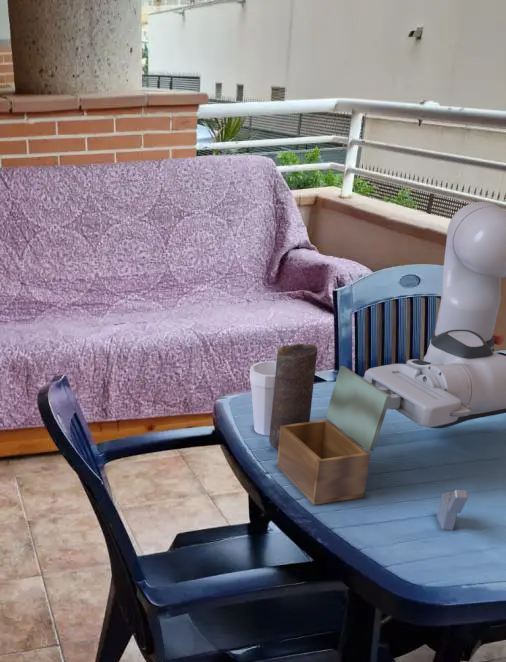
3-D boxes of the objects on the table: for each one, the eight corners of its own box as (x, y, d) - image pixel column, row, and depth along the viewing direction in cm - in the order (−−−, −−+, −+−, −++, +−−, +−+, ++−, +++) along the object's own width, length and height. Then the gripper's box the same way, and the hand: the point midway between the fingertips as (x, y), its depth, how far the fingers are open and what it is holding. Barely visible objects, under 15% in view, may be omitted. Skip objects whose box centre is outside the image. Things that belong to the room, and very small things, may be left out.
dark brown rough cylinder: (307, 456, 142) (318, 354, 131) (268, 454, 143) (276, 353, 133) (306, 440, 148) (316, 341, 138) (268, 438, 150) (276, 340, 139)
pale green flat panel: (386, 396, 118) (391, 396, 118) (340, 365, 131) (344, 366, 131) (369, 451, 123) (373, 451, 123) (325, 416, 136) (329, 417, 136)
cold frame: (314, 505, 126) (319, 461, 122) (276, 466, 139) (280, 425, 135) (363, 497, 127) (370, 454, 123) (322, 459, 141) (327, 419, 136)
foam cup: (295, 422, 156) (301, 362, 149) (290, 440, 148) (296, 378, 142) (250, 419, 159) (253, 359, 152) (242, 436, 151) (246, 374, 144)
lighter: (436, 516, 121) (446, 472, 117) (447, 516, 121) (457, 472, 116) (446, 539, 115) (456, 493, 111) (458, 539, 115) (469, 494, 111)
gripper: (473, 430, 122) (397, 441, 119) (404, 388, 139) (335, 398, 137) (482, 393, 118) (403, 404, 116) (409, 355, 135) (340, 364, 133)
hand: (366, 400), depth 127 cm, fingers closed
